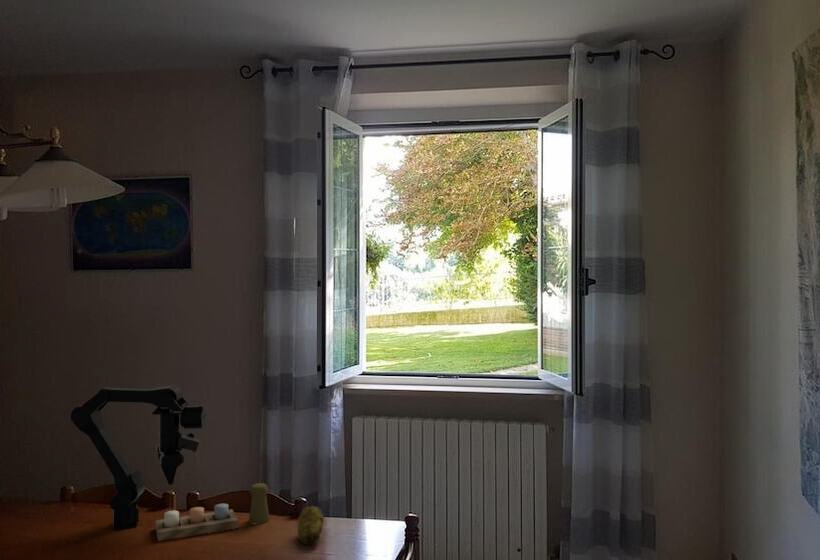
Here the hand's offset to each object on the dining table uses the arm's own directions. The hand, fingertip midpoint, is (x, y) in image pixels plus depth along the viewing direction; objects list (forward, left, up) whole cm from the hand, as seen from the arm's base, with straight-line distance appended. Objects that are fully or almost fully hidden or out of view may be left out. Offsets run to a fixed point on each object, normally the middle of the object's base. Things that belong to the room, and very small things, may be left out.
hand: (169, 481), depth 195 cm
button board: (+7, -7, -13) cm, 16 cm away
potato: (+35, -28, -13) cm, 47 cm away
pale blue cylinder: (+14, -7, -11) cm, 19 cm away
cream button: (0, -7, -11) cm, 13 cm away
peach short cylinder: (+7, -7, -11) cm, 15 cm away
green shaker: (+25, -8, -13) cm, 29 cm away
